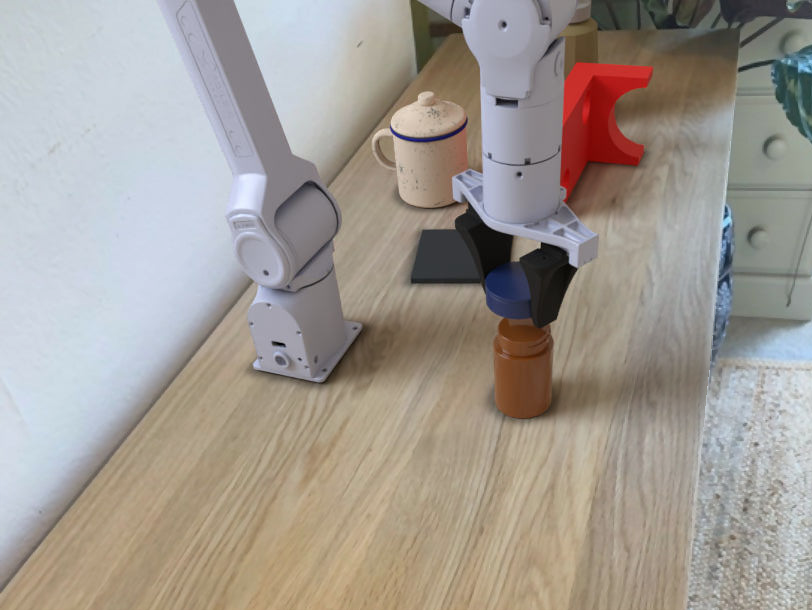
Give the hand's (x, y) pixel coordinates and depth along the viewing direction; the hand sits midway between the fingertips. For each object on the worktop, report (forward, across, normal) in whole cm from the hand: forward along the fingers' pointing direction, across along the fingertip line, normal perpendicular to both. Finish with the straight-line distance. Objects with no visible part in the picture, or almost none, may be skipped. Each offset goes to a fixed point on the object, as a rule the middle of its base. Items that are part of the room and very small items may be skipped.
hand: (520, 306), depth 72 cm
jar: (+10, -1, 0) cm, 10 cm away
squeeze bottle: (+10, +38, -42) cm, 58 cm away
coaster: (+10, +22, -11) cm, 26 cm away
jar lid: (-2, 0, 0) cm, 2 cm away
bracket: (+10, +24, -32) cm, 41 cm away
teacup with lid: (+10, +37, -17) cm, 42 cm away
